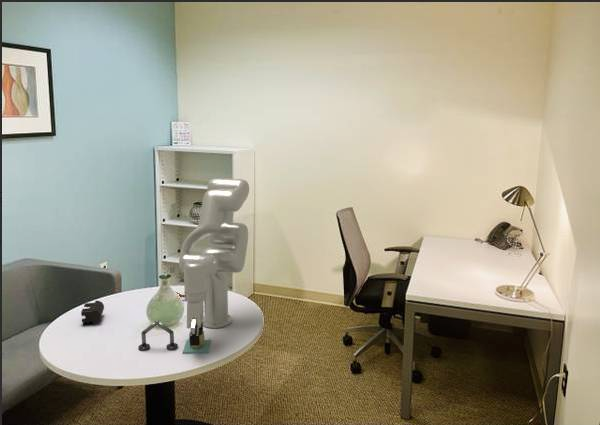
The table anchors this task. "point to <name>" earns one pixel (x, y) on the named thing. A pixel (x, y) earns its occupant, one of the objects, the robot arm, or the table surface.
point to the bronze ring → (202, 340)
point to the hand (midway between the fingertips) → (196, 338)
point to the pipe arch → (172, 345)
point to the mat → (202, 350)
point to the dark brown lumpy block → (92, 313)
